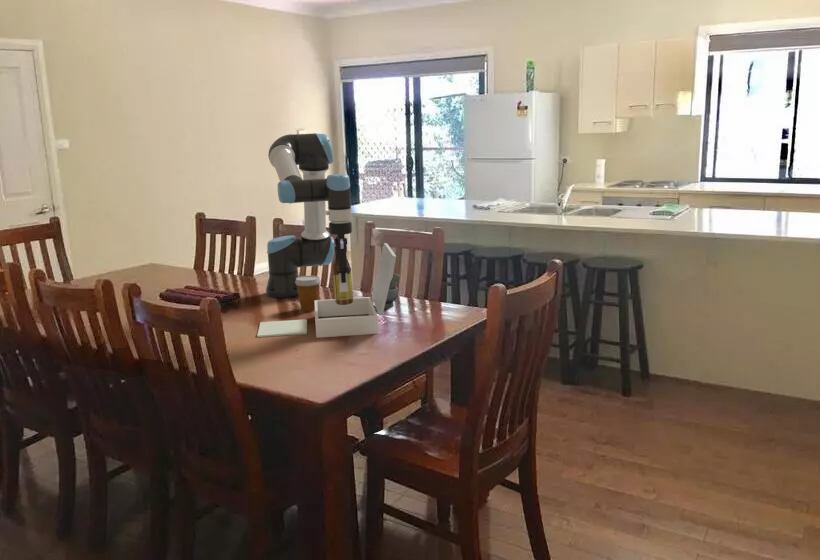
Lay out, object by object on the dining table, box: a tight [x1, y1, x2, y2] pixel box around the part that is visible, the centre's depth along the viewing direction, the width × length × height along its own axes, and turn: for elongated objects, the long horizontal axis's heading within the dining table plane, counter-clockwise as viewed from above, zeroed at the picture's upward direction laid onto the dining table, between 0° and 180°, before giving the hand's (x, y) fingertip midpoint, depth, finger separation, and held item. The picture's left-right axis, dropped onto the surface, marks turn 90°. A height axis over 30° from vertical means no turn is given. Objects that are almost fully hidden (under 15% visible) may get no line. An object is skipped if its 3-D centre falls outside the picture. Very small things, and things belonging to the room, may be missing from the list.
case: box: [314, 296, 379, 339], centre depth 234 cm, size 26×20×6 cm
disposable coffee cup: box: [295, 275, 322, 312], centre depth 255 cm, size 10×10×12 cm
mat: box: [256, 318, 308, 338], centre depth 232 cm, size 16×16×1 cm
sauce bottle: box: [332, 245, 354, 305], centre depth 231 cm, size 6×6×20 cm
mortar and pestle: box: [371, 273, 401, 309], centre depth 257 cm, size 11×9×12 cm
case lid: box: [371, 242, 397, 316], centre depth 233 cm, size 26×20×1 cm
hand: (343, 289), depth 233 cm, fingers closed on sauce bottle, 6 cm apart
